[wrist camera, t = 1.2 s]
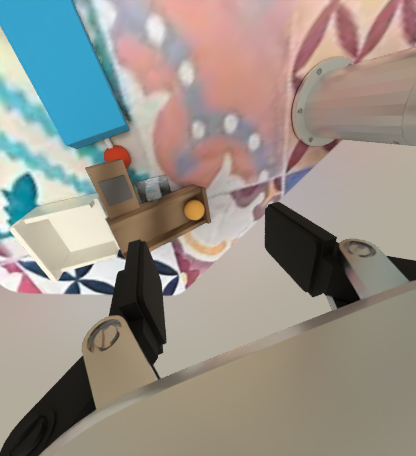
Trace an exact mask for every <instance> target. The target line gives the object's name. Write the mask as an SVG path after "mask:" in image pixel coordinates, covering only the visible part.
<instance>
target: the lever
mask: <svg viewBox="0 0 416 456" xmlns="http://www.w3.org/2000/svg"><path fill="white" fill-rule="evenodd" d="M0 26H1V28H2V30H3V32H4V33H5V35H6V37H7V39H8V41H9V43H10V44H11V46H12V48H13V50H14V52H15V54H16V55H17V57H18V59H19V61H20V63H21V64H22V66H23V68H24V70H25V72H26V74H27V75H28V77H29V79H30V81H31V83H32V85H33V86H34V88H35V90H36V92H37V94H38V96H39V97H40V99H41V101H42V103H43V105H44V107H45V108H46V110H47V112H48V114H49V116H50V117H51V119H52V121H53V123H54V125H55V127H56V128H57V130H58V132H59V134H60V136H61V138H62V139H63V141H64V143H65V145H67V146H70V147H73V148H76V149H78V148H81V147H84V146H87V145H89V144H92V143H95V142H98V141H101V140H104V142H105V143H106V145H107V147H108V148H107V149H106V150H105V152H104V160H105V162H110V161H114V160H118V159H123V162H124V165H125V168H126V169H127V168H128V166H129V165H130V161H131V160H130V155H129V153H128V152H127V150H126V149H124V148H123V147H121V146H117V145H114V146H113V144H112V142H111V140H110V139H109V137H112V136H115V135H118V134H121V133H124V132H126V131H129V130H130V129H129V127H128V125H127V122H126V120H125V118H124V116H123V113H122V111H121V109H120V107H119V104H118V102H117V100H116V97H115V95H114V93H113V91H112V88H111V86H110V84H109V82H108V79H107V77H106V75H105V73H104V70H103V68H102V66H101V64H100V61H99V59H98V57H97V54H96V52H95V50H94V48H93V45H92V43H91V41H90V39H89V36H88V34H87V32H86V30H85V27H84V25H83V23H82V21H81V18H80V16H79V14H78V11H77V9H76V7H75V5H74V2H73V0H0Z"/></svg>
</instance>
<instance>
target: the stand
mask: <svg viewBox="0 0 416 456" xmlns="http://www.w3.org/2000/svg"><path fill="white" fill-rule="evenodd" d="M135 184H136V187H137V189H138V192H139V195H140V198H141V200H142V203H143V204H144V203H146V202H149V201H151V200H155V199H159V198H162V196H164V195H167V194H170V193H171V191H170V188H169V184H168V180H167V176H166V175H162V176H158V177H153V178H149V179H145V180H140V181H136V182H135ZM172 241H175V240H172ZM172 241H170V242H172Z"/></svg>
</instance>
